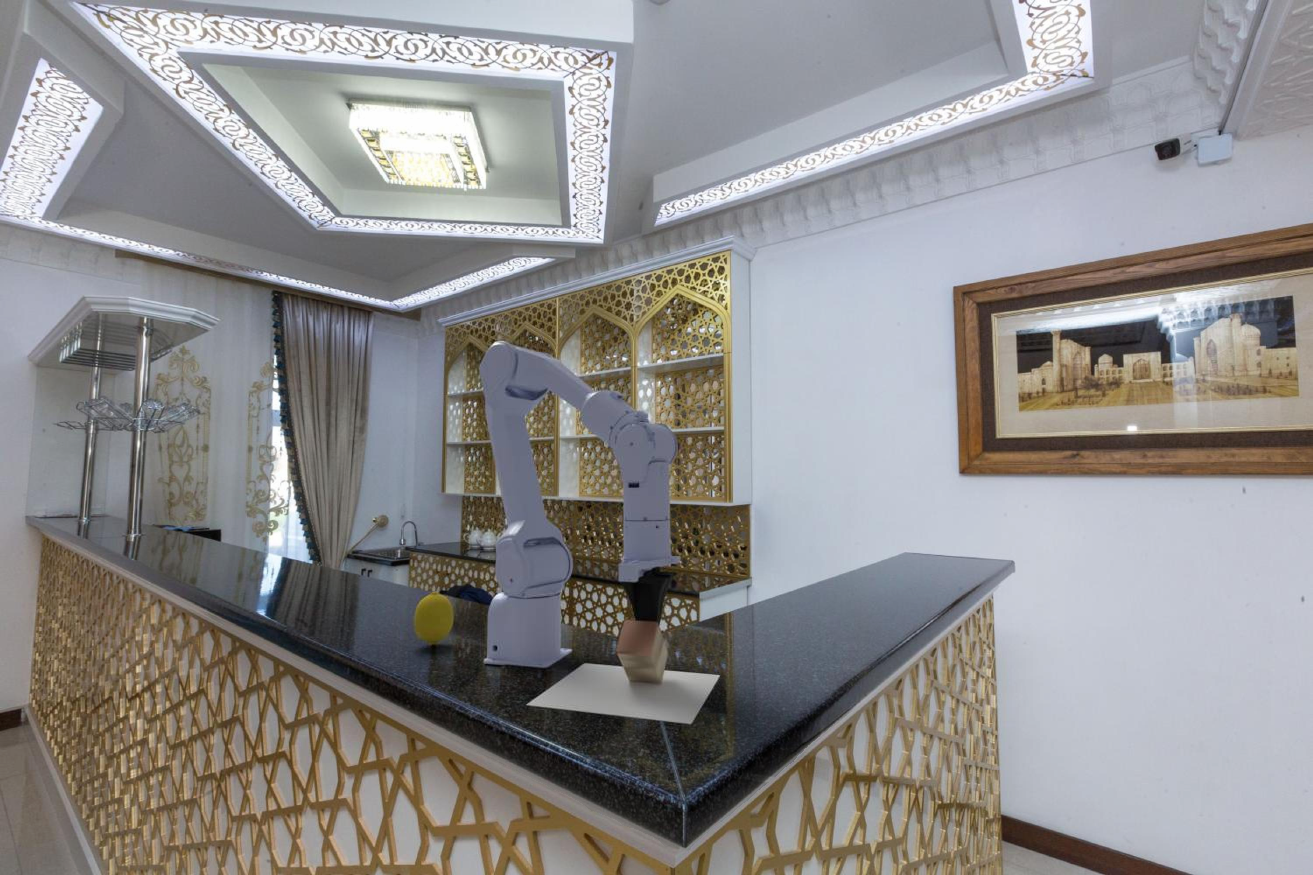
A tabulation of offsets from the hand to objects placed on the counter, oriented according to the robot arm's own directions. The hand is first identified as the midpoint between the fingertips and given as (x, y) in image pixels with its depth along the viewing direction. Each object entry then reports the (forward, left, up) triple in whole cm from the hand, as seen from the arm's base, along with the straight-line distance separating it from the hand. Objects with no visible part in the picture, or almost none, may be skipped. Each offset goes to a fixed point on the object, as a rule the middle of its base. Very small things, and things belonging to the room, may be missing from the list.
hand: (648, 634), depth 69 cm
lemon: (-36, +7, -6) cm, 37 cm away
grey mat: (-1, -3, -6) cm, 7 cm away
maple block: (0, +1, -4) cm, 4 cm away
